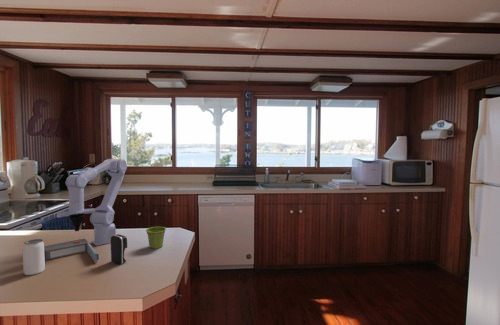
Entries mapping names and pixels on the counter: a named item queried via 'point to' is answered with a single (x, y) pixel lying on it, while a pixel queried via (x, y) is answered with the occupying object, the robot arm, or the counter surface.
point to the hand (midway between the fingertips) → (76, 230)
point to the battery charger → (118, 248)
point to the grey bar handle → (92, 253)
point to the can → (33, 257)
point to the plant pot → (155, 236)
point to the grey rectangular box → (65, 249)
